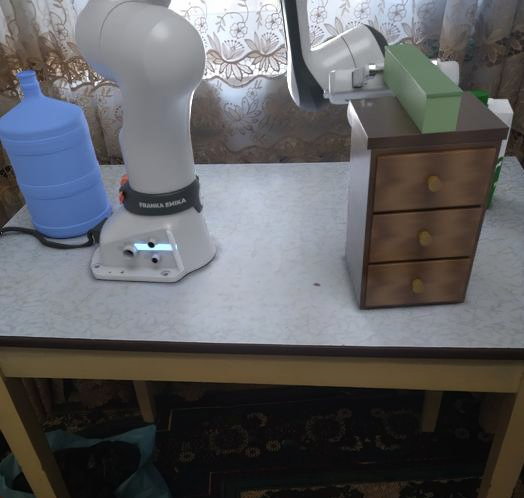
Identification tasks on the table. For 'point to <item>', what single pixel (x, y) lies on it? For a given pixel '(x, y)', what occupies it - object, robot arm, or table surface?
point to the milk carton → (505, 114)
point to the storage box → (422, 88)
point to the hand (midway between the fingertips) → (403, 66)
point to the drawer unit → (417, 201)
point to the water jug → (54, 162)
